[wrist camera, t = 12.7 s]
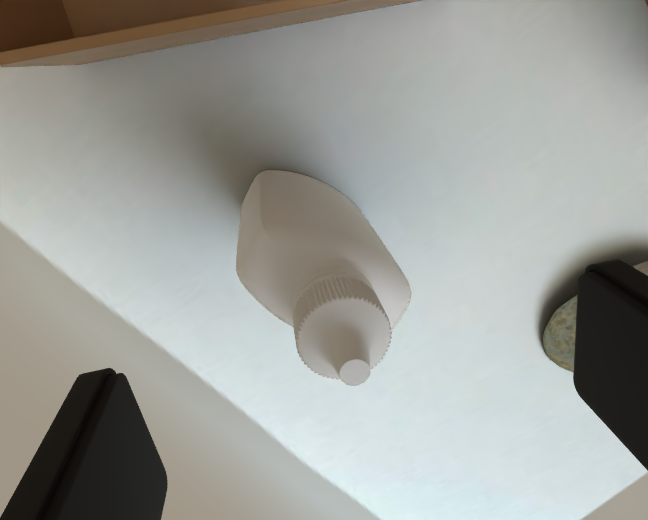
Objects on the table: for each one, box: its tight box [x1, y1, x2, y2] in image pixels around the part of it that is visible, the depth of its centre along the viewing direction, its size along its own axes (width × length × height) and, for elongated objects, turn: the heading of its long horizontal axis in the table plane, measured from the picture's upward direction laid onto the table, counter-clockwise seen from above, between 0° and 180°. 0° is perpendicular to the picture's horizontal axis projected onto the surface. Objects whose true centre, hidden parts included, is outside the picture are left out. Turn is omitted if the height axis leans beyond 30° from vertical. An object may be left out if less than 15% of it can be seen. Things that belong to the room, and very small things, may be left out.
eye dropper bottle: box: [236, 170, 411, 386], centre depth 16 cm, size 4×6×12 cm
